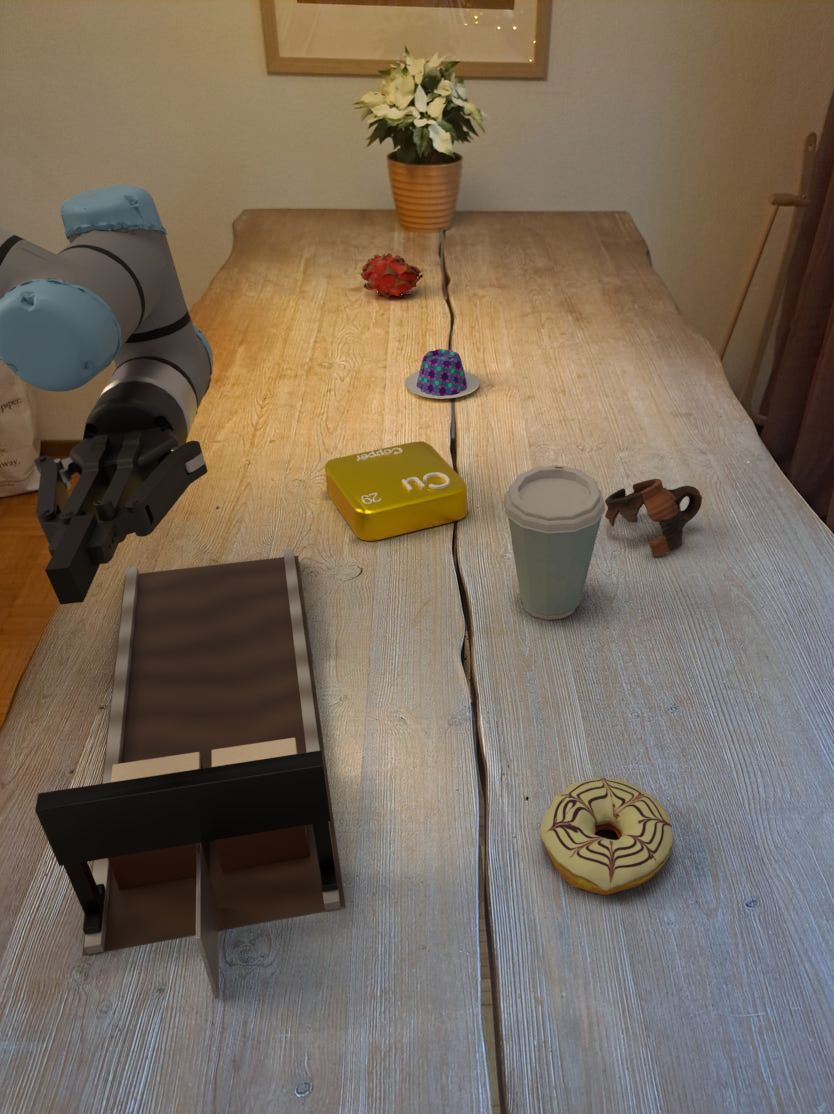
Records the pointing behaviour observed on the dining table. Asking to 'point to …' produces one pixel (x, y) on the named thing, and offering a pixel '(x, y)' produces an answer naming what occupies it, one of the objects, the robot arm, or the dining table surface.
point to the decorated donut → (599, 858)
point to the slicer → (186, 825)
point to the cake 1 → (162, 861)
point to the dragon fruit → (390, 275)
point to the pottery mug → (657, 510)
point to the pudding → (442, 376)
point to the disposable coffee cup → (553, 536)
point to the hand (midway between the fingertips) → (64, 586)
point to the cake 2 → (262, 844)
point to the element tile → (395, 490)
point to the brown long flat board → (212, 727)
